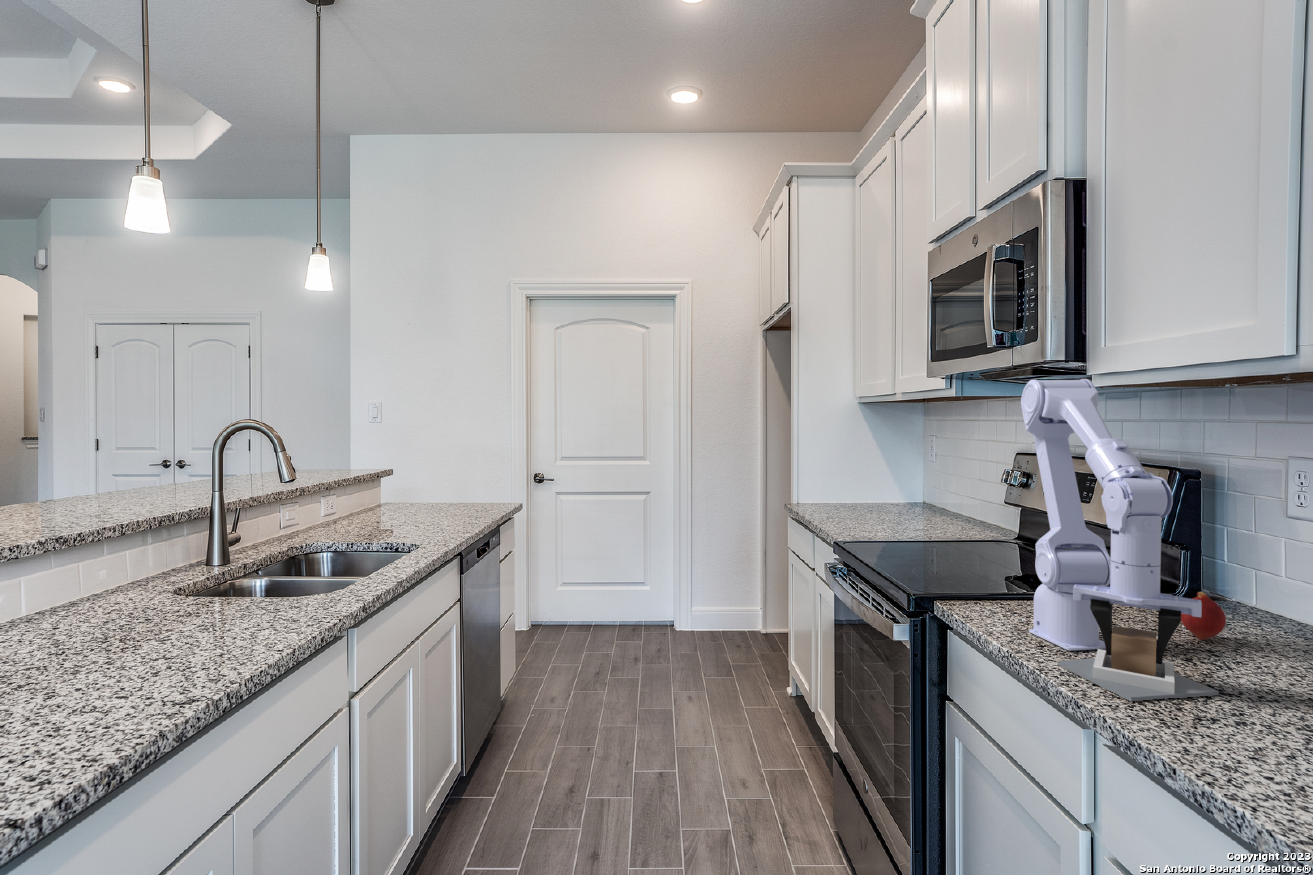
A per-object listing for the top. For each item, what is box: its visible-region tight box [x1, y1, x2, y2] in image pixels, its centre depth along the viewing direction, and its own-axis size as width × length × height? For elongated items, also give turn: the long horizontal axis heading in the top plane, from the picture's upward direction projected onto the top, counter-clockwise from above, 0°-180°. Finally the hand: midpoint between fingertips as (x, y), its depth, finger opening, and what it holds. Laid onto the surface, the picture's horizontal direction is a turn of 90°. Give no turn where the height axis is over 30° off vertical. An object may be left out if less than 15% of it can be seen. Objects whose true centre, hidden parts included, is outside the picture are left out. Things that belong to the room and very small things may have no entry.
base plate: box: [1057, 649, 1220, 703], centre depth 93 cm, size 13×13×2 cm
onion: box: [1180, 591, 1227, 641], centre depth 109 cm, size 6×6×8 cm
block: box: [1111, 625, 1158, 677], centre depth 93 cm, size 5×5×5 cm
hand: (1133, 657), depth 93 cm, fingers closed on block, 5 cm apart
